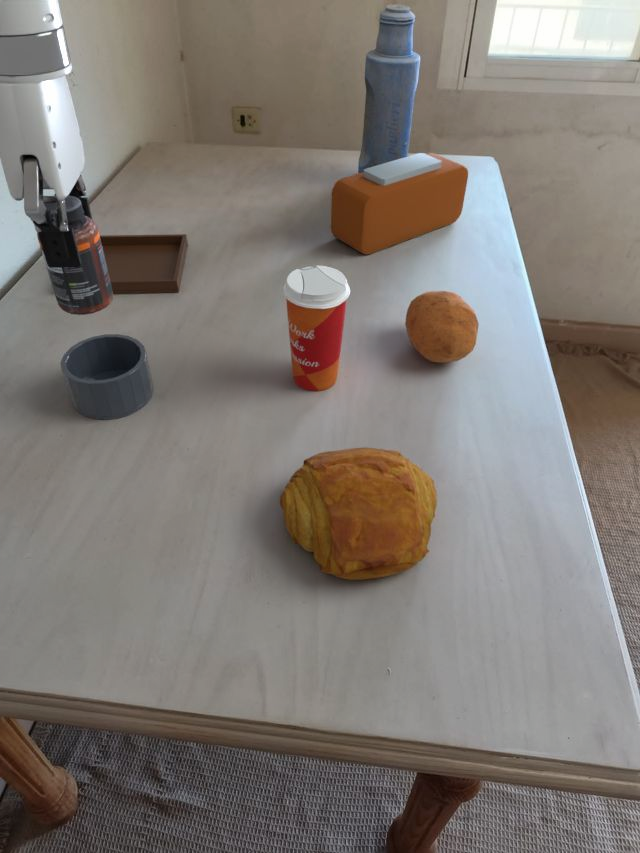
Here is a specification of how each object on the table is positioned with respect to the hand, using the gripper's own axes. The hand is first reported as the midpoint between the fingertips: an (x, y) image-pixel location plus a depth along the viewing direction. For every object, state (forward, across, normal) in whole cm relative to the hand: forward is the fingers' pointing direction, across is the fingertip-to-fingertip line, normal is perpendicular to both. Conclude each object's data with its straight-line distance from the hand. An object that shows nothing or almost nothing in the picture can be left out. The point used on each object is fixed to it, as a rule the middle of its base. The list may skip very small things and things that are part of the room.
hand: (72, 248), depth 65 cm
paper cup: (+19, -1, +26) cm, 32 cm away
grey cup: (+19, +1, +1) cm, 19 cm away
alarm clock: (+19, -42, +42) cm, 63 cm away
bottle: (+19, -63, +42) cm, 79 cm away
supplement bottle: (+7, 0, 0) cm, 7 cm away
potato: (+19, -6, +43) cm, 47 cm away
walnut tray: (+19, -30, -2) cm, 36 cm away
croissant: (+19, +23, +29) cm, 41 cm away
